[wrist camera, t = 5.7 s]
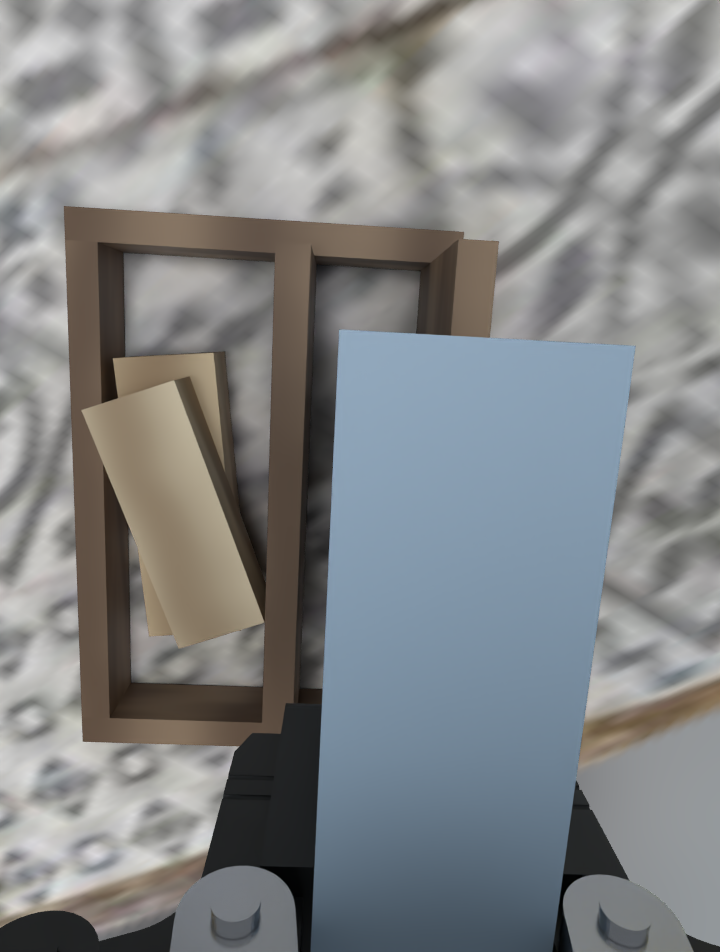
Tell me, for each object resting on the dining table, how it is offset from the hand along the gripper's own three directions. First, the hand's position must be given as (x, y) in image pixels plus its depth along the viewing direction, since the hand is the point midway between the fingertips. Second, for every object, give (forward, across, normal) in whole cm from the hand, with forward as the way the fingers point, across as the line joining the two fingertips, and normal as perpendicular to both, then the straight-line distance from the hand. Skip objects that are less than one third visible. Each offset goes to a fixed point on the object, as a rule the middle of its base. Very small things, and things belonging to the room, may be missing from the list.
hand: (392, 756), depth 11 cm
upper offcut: (+17, +7, 0) cm, 18 cm away
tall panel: (+12, 0, 0) cm, 12 cm away
